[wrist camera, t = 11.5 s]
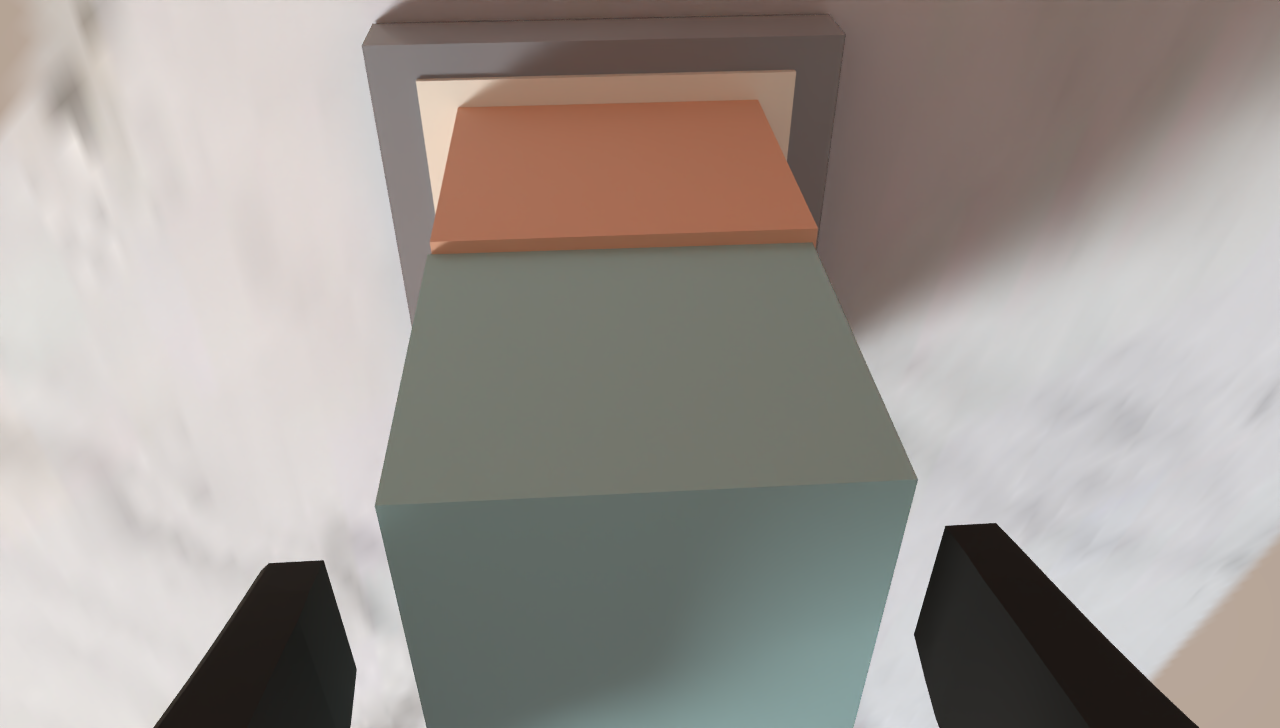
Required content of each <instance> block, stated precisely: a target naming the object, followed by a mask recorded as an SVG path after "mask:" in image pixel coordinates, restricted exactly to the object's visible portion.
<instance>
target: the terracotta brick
mask: <svg viewBox="0 0 1280 728" xmlns="http://www.w3.org/2000/svg"><path fill="white" fill-rule="evenodd" d="M817 233H818V227H817V225H816V223H815V221H814V219H813V216H812V214H811V212H810V210H809V208H808V206H807V204H806V201H805V199H804V197H803V195H802V193H801V191H800V189H799V186H798V184H797V182H796V180H795V178H794V176H793V174H792V171H791V169H790V167H789V165H788V163H787V161H786V159H785V156H784V154H783V152H782V150H781V148H780V146H779V144H778V141H777V139H776V137H775V135H774V133H773V131H772V129H771V126H770V124H769V122H768V120H767V118H766V116H765V113H764V111H763V109H762V107H761V105H760V103H759V101H758V100H726V101H688V102H650V103H611V104H573V105H535V106H496V107H458V109H457V114H456V119H455V124H454V128H453V133H452V138H451V143H450V147H449V152H448V157H447V162H446V167H445V171H444V176H443V181H442V186H441V190H440V195H439V200H438V205H437V210H436V214H435V219H434V224H433V229H432V233H431V238H430V247H431V254H458V253H489V252H521V251H553V250H585V249H617V248H649V247H681V246H713V245H744V244H776V243H808V242H812V243H813V245H814V247H815V248H816V240H817Z"/></svg>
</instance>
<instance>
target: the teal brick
mask: <svg viewBox="0 0 1280 728" xmlns="http://www.w3.org/2000/svg"><path fill="white" fill-rule="evenodd" d="M917 481H918V479H917V476H916V474H915V472H914V470H913V467H912V465H911V463H910V461H909V458H908V456H907V454H906V452H905V449H904V447H903V445H902V443H901V440H900V438H899V436H898V434H897V431H896V429H895V427H894V425H893V422H892V420H891V418H890V416H889V413H888V411H887V409H886V407H885V404H884V402H883V400H882V398H881V395H880V393H879V391H878V389H877V387H876V384H875V382H874V380H873V378H872V375H871V373H870V371H869V369H868V366H867V364H866V362H865V360H864V357H863V355H862V353H861V351H860V348H859V346H858V344H857V342H856V339H855V337H854V335H853V333H852V330H851V328H850V326H849V324H848V321H847V319H846V317H845V315H844V312H843V310H842V308H841V306H840V303H839V301H838V299H837V297H836V294H835V292H834V290H833V288H832V285H831V283H830V281H829V279H828V276H827V274H826V272H825V270H824V267H823V265H822V263H821V261H820V259H819V256H818V254H817V252H816V250H815V247H814V245H813V243H812V242H808V243H776V244H744V245H713V246H681V247H649V248H617V249H585V250H553V251H521V252H489V253H458V254H427V259H426V264H425V268H424V273H423V278H422V283H421V288H420V292H419V297H418V302H417V307H416V312H415V316H414V321H413V326H412V331H411V335H410V340H409V345H408V350H407V355H406V359H405V364H404V369H403V374H402V379H401V383H400V388H399V393H398V398H397V402H396V407H395V412H394V417H393V422H392V426H391V431H390V436H389V441H388V446H387V450H386V455H385V460H384V465H383V469H382V474H381V479H380V484H379V489H378V493H377V498H376V503H375V508H376V513H377V517H378V521H379V525H380V530H381V534H382V538H383V543H384V547H385V551H386V555H387V560H388V564H389V568H390V573H391V577H392V581H393V585H394V590H395V594H396V598H397V603H398V607H399V611H400V615H401V620H402V624H403V628H404V633H405V637H406V641H407V645H408V650H409V654H410V658H411V662H412V667H413V671H414V675H415V680H416V684H417V688H418V692H419V697H420V701H421V705H422V710H423V714H424V718H425V722H426V727H427V728H853V727H854V723H855V719H856V715H857V711H858V708H859V704H860V700H861V696H862V692H863V688H864V685H865V681H866V677H867V673H868V669H869V665H870V662H871V658H872V654H873V650H874V646H875V642H876V638H877V635H878V631H879V627H880V623H881V619H882V615H883V612H884V608H885V604H886V600H887V596H888V592H889V589H890V585H891V581H892V577H893V573H894V569H895V566H896V562H897V558H898V554H899V550H900V546H901V542H902V539H903V535H904V531H905V527H906V523H907V519H908V516H909V512H910V508H911V504H912V500H913V496H914V493H915V489H916V485H917Z"/></svg>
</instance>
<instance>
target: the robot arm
mask: <svg viewBox="0 0 1280 728" xmlns="http://www.w3.org/2000/svg"><path fill="white" fill-rule="evenodd" d="M914 636H915V640H916V644H917V648H918V652H919V656H920V661H921V665H922V669H923V673H924V677H925V681H926V684H927V688H928V692H929V695H930V699H931V703H932V706H933V710H934V713H935V717H936V720H937V723H938V725H939V728H1199V727H1198V726H1197V725H1196V724H1195V723H1193V722H1192V721H1191V720H1190V719H1189V718H1188V717H1187V716H1186V715H1185V714H1184V713H1183V712H1182V711H1181V710H1180V709H1179V708H1177V707H1176V706H1175V705H1174V704H1173V703H1172V702H1171V701H1170V700H1169V699H1168V698H1167V697H1166V696H1165V695H1164V694H1163V693H1162V692H1160V690H1159V689H1157V688H1156V687H1155V686H1154V685H1153V684H1152V683H1151V682H1150V681H1149V680H1148V679H1147V678H1146V677H1145V676H1144V675H1143V674H1142V673H1141V672H1140V671H1139V670H1138V669H1137V668H1136V667H1135V666H1134V665H1133V664H1132V663H1131V662H1130V661H1129V660H1128V659H1127V658H1126V657H1125V656H1124V655H1123V654H1122V653H1121V652H1120V651H1119V650H1118V649H1117V648H1116V647H1115V646H1114V645H1113V644H1112V643H1111V642H1110V641H1109V640H1108V639H1107V638H1106V637H1105V636H1104V635H1103V634H1102V633H1101V632H1100V631H1099V630H1098V629H1097V628H1096V627H1095V626H1094V625H1093V624H1092V623H1091V622H1090V621H1089V620H1088V619H1087V618H1086V617H1085V616H1084V615H1083V614H1082V613H1081V611H1080V610H1079V609H1078V608H1077V607H1076V606H1075V605H1074V604H1073V603H1072V602H1071V601H1070V600H1069V599H1068V598H1067V597H1066V596H1065V595H1064V594H1063V593H1062V592H1061V591H1060V590H1059V589H1058V587H1057V586H1056V585H1055V584H1054V583H1053V582H1052V581H1051V580H1050V579H1049V578H1048V577H1047V576H1046V575H1045V574H1044V573H1043V572H1042V571H1041V570H1040V569H1039V567H1038V566H1037V565H1036V564H1035V563H1034V562H1033V561H1032V560H1031V559H1030V558H1029V557H1028V556H1027V555H1026V554H1025V553H1024V552H1023V551H1022V550H1021V548H1020V547H1019V546H1018V545H1017V544H1016V543H1015V542H1014V541H1013V540H1012V539H1011V538H1010V537H1009V536H1008V535H1007V534H1006V533H1005V532H1004V531H1003V530H1002V529H1001V528H1000V527H999V526H998V525H997V524H996V523H989V524H971V525H953V526H945V529H944V533H943V536H942V540H941V543H940V547H939V550H938V553H937V557H936V560H935V564H934V567H933V571H932V574H931V578H930V581H929V584H928V588H927V591H926V595H925V598H924V602H923V605H922V609H921V612H920V616H919V619H918V622H917V626H916V629H915V633H914ZM356 670H357V669H356V666H355V662H354V659H353V656H352V652H351V649H350V646H349V642H348V639H347V636H346V633H345V629H344V626H343V623H342V619H341V616H340V613H339V610H338V606H337V603H336V600H335V596H334V593H333V590H332V586H331V583H330V580H329V577H328V573H327V570H326V567H325V563H324V560H321V561H303V562H285V563H269V564H268V565H267V566H266V567H265V568H263V569H262V570H261V572H260V573H259V575H258V576H257V578H256V579H255V581H254V582H253V584H252V586H251V587H250V589H249V590H248V592H247V593H246V595H245V596H244V598H243V599H242V601H241V602H240V604H239V605H238V607H237V609H236V610H235V612H234V613H233V615H232V616H231V618H230V619H229V621H228V622H227V624H226V625H225V627H224V628H223V630H222V631H221V633H220V634H219V636H218V637H217V639H216V640H215V642H214V643H213V644H212V646H211V647H210V649H209V650H208V652H207V653H206V655H205V656H204V658H203V659H202V660H201V662H200V663H199V665H198V666H197V668H196V669H195V671H194V672H193V674H192V675H191V676H190V678H189V679H188V681H187V682H186V683H185V685H184V686H183V688H182V689H181V690H180V692H179V693H178V694H177V696H176V697H175V699H174V700H173V701H172V703H171V704H170V706H169V707H168V708H167V710H166V711H165V712H164V714H163V715H162V717H161V718H160V719H159V721H158V722H157V723H156V725H155V726H154V728H350V725H351V717H352V708H353V699H354V689H355V680H356Z"/></svg>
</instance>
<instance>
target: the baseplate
mask: <svg viewBox="0 0 1280 728" xmlns="http://www.w3.org/2000/svg"><path fill="white" fill-rule="evenodd" d="M844 41H845V34H844V33H843V31H842V30H841V29H840V27H839V26H838V25H837V24H836V22H835V21H834V20H833V18H832V17H831V16H830V15H829V14H816V15H768V16H721V17H673V18H625V19H577V20H529V21H481V22H434V23H386V24H372V26H371V28H370V30H369V32H368V34H367V36H366V38H365V40H364V42H363V44H362V49H363V55H364V60H365V66H366V72H367V77H368V83H369V88H370V94H371V100H372V105H373V111H374V117H375V122H376V128H377V133H378V139H379V145H380V150H381V156H382V162H383V167H384V173H385V178H386V184H387V190H388V195H389V201H390V207H391V212H392V218H393V223H394V229H395V235H396V240H397V246H398V252H399V257H400V263H401V268H402V274H403V280H404V285H405V291H406V297H407V302H408V308H409V313H410V319H411V325H412V326H413V321H414V316H415V312H416V307H417V302H418V297H419V292H420V288H421V283H422V278H423V273H424V268H425V264H426V259H427V254H431V247H430V238H431V233H432V229H433V224H434V219H435V214H436V210H437V205H438V200H439V195H440V190H441V186H442V181H443V176H444V171H445V167H446V162H447V157H448V152H449V147H450V143H451V138H452V133H453V128H454V124H455V119H456V114H457V109H458V107H496V106H535V105H573V104H611V103H650V102H688V101H726V100H758V101H759V103H760V105H761V107H762V109H763V111H764V113H765V116H766V118H767V120H768V122H769V124H770V126H771V129H772V131H773V133H774V135H775V137H776V139H777V141H778V144H779V146H780V148H781V150H782V152H783V154H784V156H785V159H786V161H787V163H788V165H789V167H790V169H791V171H792V174H793V176H794V178H795V180H796V182H797V184H798V186H799V189H800V191H801V193H802V195H803V197H804V199H805V201H806V204H807V206H808V208H809V210H810V212H811V214H812V216H813V219H814V221H815V223H816V225H817V227H818V233H817V240H816V248H815V250H817V242H818V235H819V227H820V220H821V212H822V205H823V197H824V190H825V182H826V175H827V168H828V160H829V153H830V145H831V138H832V130H833V123H834V115H835V108H836V101H837V93H838V86H839V78H840V71H841V63H842V56H843V48H844Z"/></svg>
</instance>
